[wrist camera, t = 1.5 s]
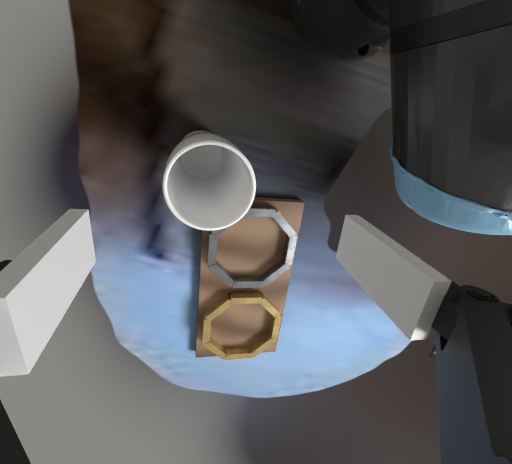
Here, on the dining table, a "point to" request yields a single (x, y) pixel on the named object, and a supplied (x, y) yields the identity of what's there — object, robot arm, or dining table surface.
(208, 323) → the far collar
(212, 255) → the near collar
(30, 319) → the robot arm
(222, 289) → the walnut board
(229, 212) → the drinking glass
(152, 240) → the dining table surface
